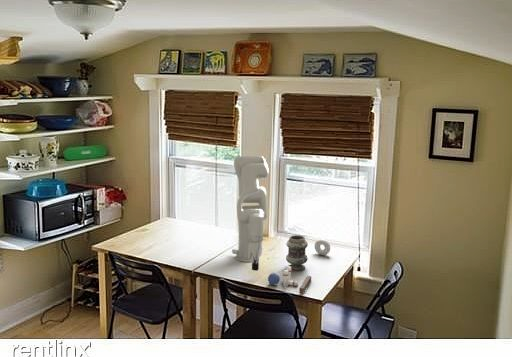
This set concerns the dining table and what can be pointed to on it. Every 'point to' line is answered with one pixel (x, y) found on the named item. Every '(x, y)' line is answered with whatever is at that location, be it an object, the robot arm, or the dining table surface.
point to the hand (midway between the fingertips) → (255, 269)
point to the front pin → (291, 282)
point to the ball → (273, 279)
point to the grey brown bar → (305, 284)
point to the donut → (326, 245)
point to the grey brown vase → (296, 252)
